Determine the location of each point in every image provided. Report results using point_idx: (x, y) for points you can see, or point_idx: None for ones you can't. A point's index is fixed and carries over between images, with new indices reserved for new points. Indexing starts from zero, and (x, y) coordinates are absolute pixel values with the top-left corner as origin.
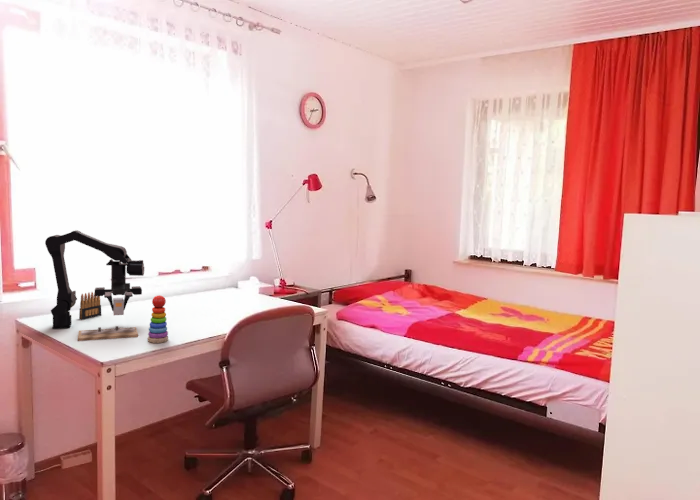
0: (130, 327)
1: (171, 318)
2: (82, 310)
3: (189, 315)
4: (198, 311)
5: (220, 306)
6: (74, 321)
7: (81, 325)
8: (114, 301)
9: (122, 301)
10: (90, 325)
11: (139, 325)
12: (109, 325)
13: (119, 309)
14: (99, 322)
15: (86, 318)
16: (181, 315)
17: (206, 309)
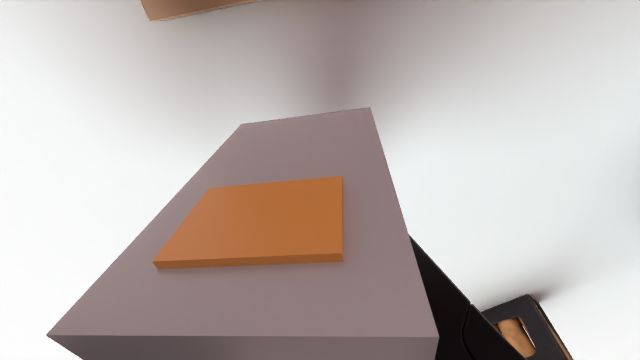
0: (195, 7)
1: (89, 260)
2: (562, 353)
3: (43, 288)
4: (51, 325)
5: (24, 355)
6: (579, 276)
7: (576, 196)
8: (396, 325)
9: (105, 312)
10: (516, 189)
11: (189, 148)
12: (390, 173)
13: (274, 154)
14: (446, 243)
15: (501, 306)
16: (77, 292)
17: (42, 338)
